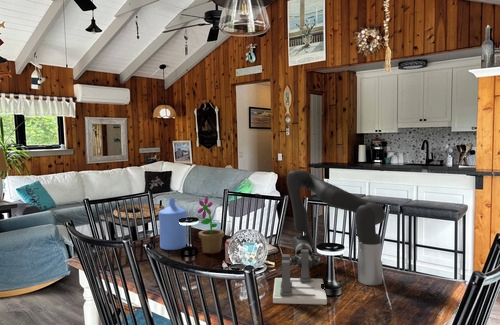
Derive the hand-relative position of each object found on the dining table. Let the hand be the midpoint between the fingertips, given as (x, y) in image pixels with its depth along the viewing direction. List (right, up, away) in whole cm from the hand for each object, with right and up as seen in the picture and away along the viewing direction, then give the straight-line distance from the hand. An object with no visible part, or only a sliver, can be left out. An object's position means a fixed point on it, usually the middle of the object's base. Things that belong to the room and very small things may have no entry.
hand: (305, 265), depth 154 cm
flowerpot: (-44, -7, +56) cm, 71 cm away
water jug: (-67, -7, +65) cm, 94 cm away
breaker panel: (-3, -10, -3) cm, 11 cm away
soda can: (-31, -8, +33) cm, 46 cm away
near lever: (-9, -8, -10) cm, 15 cm away
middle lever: (-8, -7, -3) cm, 11 cm away
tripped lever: (0, -7, +3) cm, 7 cm away
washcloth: (-17, -7, +53) cm, 56 cm away
